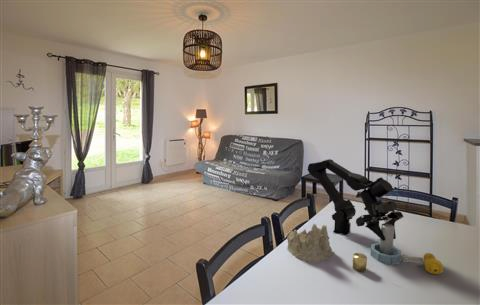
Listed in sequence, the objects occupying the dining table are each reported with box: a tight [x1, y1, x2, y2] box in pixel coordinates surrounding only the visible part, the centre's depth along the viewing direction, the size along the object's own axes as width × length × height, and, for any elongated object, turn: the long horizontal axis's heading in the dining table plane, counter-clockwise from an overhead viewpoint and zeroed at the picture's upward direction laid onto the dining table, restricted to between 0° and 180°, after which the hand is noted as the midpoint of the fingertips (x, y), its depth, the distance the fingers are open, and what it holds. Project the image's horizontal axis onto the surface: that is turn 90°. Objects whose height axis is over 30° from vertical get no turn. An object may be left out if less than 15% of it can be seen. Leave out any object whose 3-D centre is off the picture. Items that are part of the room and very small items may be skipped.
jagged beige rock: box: [286, 223, 333, 263], centre depth 106 cm, size 16×16×15 cm
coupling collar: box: [369, 242, 402, 265], centre depth 102 cm, size 10×10×3 cm
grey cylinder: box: [378, 222, 396, 256], centre depth 101 cm, size 4×4×12 cm
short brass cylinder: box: [352, 252, 368, 274], centre depth 94 cm, size 5×5×5 cm
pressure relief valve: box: [401, 252, 444, 275], centre depth 94 cm, size 6×12×10 cm
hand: (389, 239), depth 99 cm, fingers open, 5 cm apart
